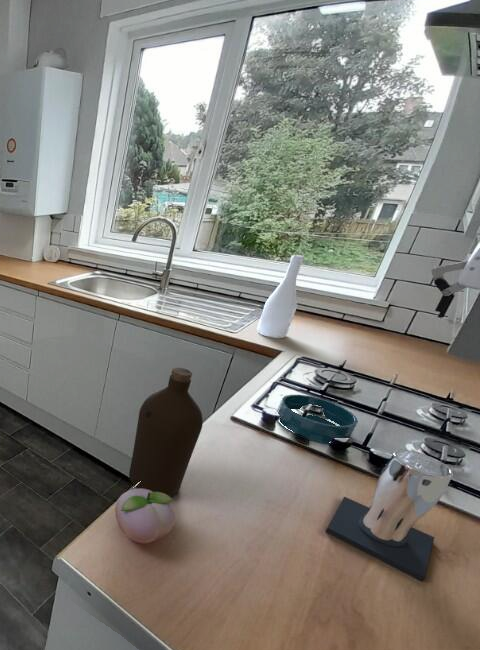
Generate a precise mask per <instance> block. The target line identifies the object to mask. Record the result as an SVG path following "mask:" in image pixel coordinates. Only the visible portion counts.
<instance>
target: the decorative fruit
mask: <svg viewBox="0 0 480 650" xmlns="http://www.w3.org/2000/svg"><path fill="white" fill-rule="evenodd" d="M173 502H174V499H173V497H170V496H168V495H166V494H164V493H161V492H152V491H150V490H147V489H141V488H138V489H137V488H133V489H130V490H128V491H125V492H124V493H122V494H121V495H120V496H119V497H118V498H117V501H116V503H115V508H114V514H115V519H116V522H117V526H118V528H119V529H120V532H122V535H124V536H125V537H126V538H127V539H129V540H130V541H133V542H135V543H138V544H150V543H152V542H154V541H158V540H161V539H162V538H163V537H165V536H166V535H167V534H169V532H170V531H171V530H172V529H173V528H174V525H175V522H176V518H175V512H174V510H173V507H172V506H171V504H170V503H173Z"/></svg>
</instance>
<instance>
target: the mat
mask: <svg viewBox="0 0 480 650" xmlns="http://www.w3.org/2000/svg"><path fill="white" fill-rule="evenodd" d="M369 508H370V506H366V505H365V504H362V503H360V502H358V501H355V500H353V499H351V498H349V497H346V496H343V498H342V499H341V501H340V503H339V505H338V507H337V508H336V511H335V512H334V514H333V516H332V518H331V519H330V522H329V523H328V525H327V527H326V529H325V531H324V532H325V533H326V534H329V535H331V536H333V537H335V538H336V539H339V540H341V541H342V542H345V543H346V544H348V545H350V546H352V547H354V548H356V549H358V550H359V551H362V552H363V553H366V554H367V555H369V556H372V557H373V558H375V559H377V560H378V561H381V562H384V564H385V563H386V564H387V565H389V566H391V567H393V568H395V569H396V570H399V571H401V572H402V573H405V574H406V575H408V576H410V577H413V578H414V579H416V580H418V581H420V582H423V581H424V580H425V578H426V575H427V571H428V567H429V562H430V558H431V554H432V550H433V545H434V540H435V537H434V536H433V535H430V534H428V533H427V532H423V531H421V530H420V529H417V528H415V527H414V526H413V527H412V528H411V530H410V532H409V535H408V539H407V543H406V544H405V545H404V546H402V547H393V546H389V545H385V544H383V543H380V542H378V541H376V540H374V539H373V538H371V537H370V536H368V535H367V534H366V533H364V532H363V531H362V530H361V528H360V527H359V525H358V520H359V519H360V518H361V517H362V516H363V515H364V514H365V513H366V512H367V511H368V509H369Z"/></svg>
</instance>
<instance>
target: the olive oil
mask: <svg viewBox="0 0 480 650" xmlns="http://www.w3.org/2000/svg"><path fill="white" fill-rule="evenodd" d="M171 370H172V371H171V374H170V375H169V378H168V384H167V386H165V388H162V389H160V390H158V391H156V392H154V393H152V394H150V395H148V397H146V399H145V400H144V401H143V403H142V404H141V406H140V408H139V411H138V419H137V425H136V431H135V436H134V437H135V438H134V443H133V450H132V455H131V456H132V457H131V460H130V461H131V462H130V467H129V472H128V479H129V481H130V482H131V484H132V485H133V486H134V487H135V485H136V484H137V483H138V482H140V481H141V482H140V483H139V484H138V485H137V486H136V487H135V489H138V488H141V489H147V490H150V491H152V492H161V493H164V494H166V495H168V496H170V497H171V498H173V497H175V496H177V495H178V493H179V492H180V490H181V487H182V484H183V480H184V478H185V475H186V471H187V469H188V466H189V465H190V464H189V463H190V461H191V458H192V456H193V453H194V450H195V447H196V445H197V442H198V440H199V437H200V435H201V432H202V429H203V425H204V424H203V421H204V420H203V414H202V410H201V408H200V406H199V405H198V403H197V402H196V401H195V399H194V398H193V397H192V395H191V394H190V393H189V388H190V386H191V382H192V379H191V378H192V376H193V372H192V371H191V370H189V369H187V368H183V367H174V368H172V369H171Z"/></svg>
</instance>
